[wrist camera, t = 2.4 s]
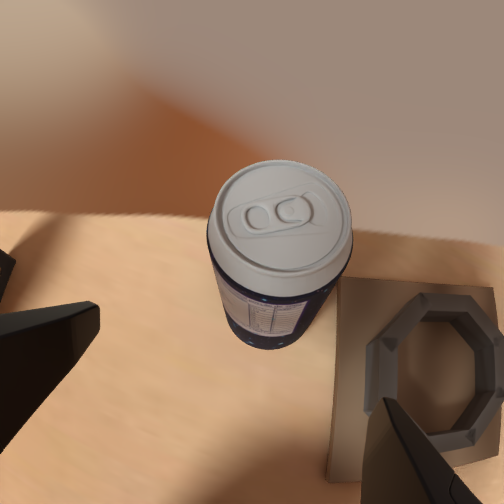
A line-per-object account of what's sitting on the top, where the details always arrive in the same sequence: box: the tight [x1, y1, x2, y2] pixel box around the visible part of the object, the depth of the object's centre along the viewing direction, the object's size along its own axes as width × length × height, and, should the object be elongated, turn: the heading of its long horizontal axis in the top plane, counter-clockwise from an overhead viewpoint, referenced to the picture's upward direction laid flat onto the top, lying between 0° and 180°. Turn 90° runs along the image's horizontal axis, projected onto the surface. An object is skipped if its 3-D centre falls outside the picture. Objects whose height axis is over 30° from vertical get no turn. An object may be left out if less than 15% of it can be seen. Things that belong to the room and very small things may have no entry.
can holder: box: [325, 276, 504, 483], centre depth 18 cm, size 14×14×4 cm
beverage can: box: [207, 160, 353, 350], centre depth 17 cm, size 6×6×12 cm
